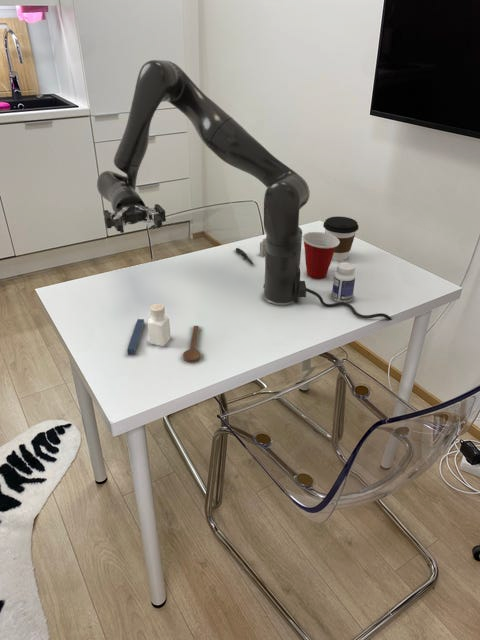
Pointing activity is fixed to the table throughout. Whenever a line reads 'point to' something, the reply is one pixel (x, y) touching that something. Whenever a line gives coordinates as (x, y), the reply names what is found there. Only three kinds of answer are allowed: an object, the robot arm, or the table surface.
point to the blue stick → (135, 337)
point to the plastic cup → (319, 253)
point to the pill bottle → (343, 282)
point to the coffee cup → (341, 234)
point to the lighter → (263, 247)
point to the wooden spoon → (193, 348)
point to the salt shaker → (158, 325)
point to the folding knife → (243, 255)
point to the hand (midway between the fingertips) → (140, 226)
